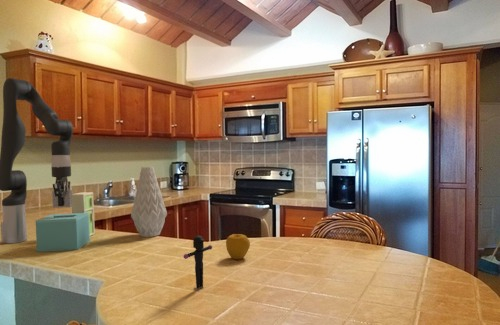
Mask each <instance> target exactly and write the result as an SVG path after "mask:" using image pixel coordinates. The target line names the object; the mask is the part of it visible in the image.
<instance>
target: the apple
mask: <svg viewBox="0 0 500 325" xmlns="http://www.w3.org/2000/svg"><path fill="white" fill-rule="evenodd" d="M250 242H251V241H250V239H249V238H248V237H247V235H245V234H242V233H233V234H231V235H229V236H228V237H226V241H225V248H226V250H227V253H228V254H229V255H228V256H230V258H231V259H234V260H242V259H244V257H245V256H246V255H247V254H248V251H249V249H250V246H251V243H250Z"/></svg>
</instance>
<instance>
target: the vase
mask: <svg viewBox="0 0 500 325" xmlns="http://www.w3.org/2000/svg"><path fill="white" fill-rule="evenodd" d="M167 216H168V212H167V208H166V206H165V203H164V198H163V195H162V191H161V189H160V184H159V183H158V179H157V175H156V171H155V168H154V166H141V168H140V173H139V179H138V183H137V187H136V191H135V196H134V201H133V206H132V211H131V213H130V218H131V219H132V220H133V222H134V223H133V224H134V226H135V228H136V230H137V232H138V233H139V235H140V237H143V238H151V237H152V238H153V237H157V236H159V235H161V232H162V230H163V228H164V225H165V218H166V217H167Z"/></svg>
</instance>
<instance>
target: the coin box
mask: <svg viewBox="0 0 500 325" xmlns="http://www.w3.org/2000/svg"><path fill="white" fill-rule="evenodd" d="M35 236H36V253H44V252H62V251H63V252H64V251H78V250H79V249H81V248H82V247H83V245H84V246H85V245H86V244H88V243H89V242H90V240H91V239H90V238H91V236H90V235H89V213H72V212H71V213H55V214H49V215H47V216H46V215H45V216H44V217H41V218H39V219H36V220H35Z"/></svg>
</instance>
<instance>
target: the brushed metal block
mask: <svg viewBox="0 0 500 325" xmlns="http://www.w3.org/2000/svg"><path fill="white" fill-rule="evenodd" d="M72 194H73V190H71V189H70V190H65V192H64V206H58V198H57V197H55V193H54V190H53V191H52V192H51V195H52V208H53V209H54V208H55V209H56V208H72Z"/></svg>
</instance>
